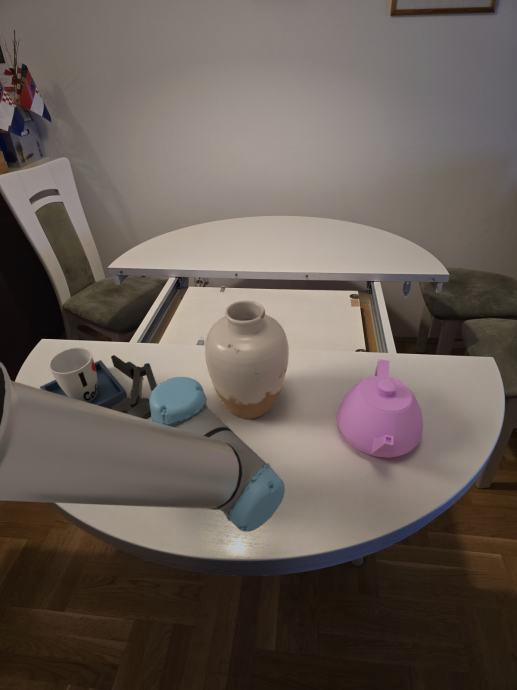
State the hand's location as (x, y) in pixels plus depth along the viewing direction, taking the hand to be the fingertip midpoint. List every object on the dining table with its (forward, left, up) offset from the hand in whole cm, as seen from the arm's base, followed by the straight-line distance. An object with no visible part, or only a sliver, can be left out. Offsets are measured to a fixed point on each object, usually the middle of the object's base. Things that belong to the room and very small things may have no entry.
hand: (84, 378), depth 79 cm
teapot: (+39, -42, -9) cm, 58 cm away
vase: (+25, -20, -9) cm, 33 cm away
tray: (-1, +4, -8) cm, 9 cm away
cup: (-1, +4, -8) cm, 9 cm away
